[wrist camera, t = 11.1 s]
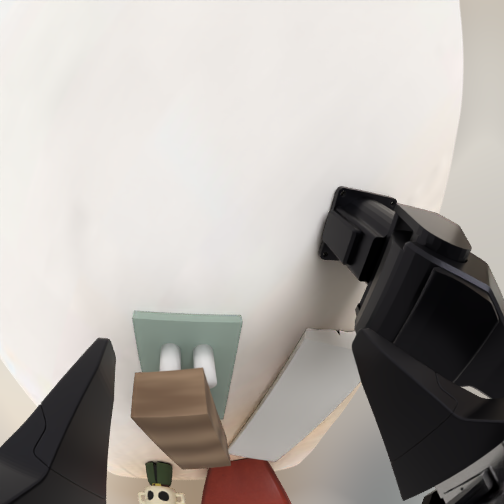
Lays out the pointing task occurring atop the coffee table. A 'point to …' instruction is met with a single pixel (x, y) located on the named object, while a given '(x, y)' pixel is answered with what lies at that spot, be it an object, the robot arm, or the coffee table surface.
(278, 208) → the coffee table surface
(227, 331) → the peg base
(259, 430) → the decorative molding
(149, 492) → the character mug
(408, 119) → the coffee table surface
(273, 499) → the plant pot
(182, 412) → the walnut shelf board
